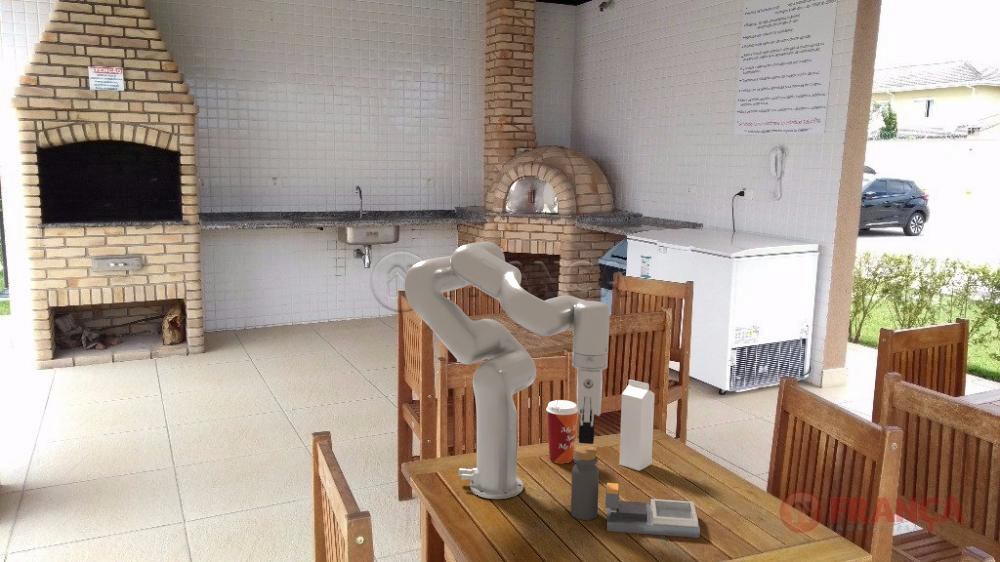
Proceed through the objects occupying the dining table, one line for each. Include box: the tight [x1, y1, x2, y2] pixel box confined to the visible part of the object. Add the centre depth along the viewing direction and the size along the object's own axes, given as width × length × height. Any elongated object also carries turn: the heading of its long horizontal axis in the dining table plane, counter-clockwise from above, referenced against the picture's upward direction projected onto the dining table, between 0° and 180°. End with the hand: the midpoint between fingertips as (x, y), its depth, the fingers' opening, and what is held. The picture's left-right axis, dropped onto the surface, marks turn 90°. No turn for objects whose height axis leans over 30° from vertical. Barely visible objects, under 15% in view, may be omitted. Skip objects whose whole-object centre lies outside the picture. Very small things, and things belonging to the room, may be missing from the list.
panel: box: [606, 498, 701, 539], centre depth 165 cm, size 19×10×4 cm, turn 82°
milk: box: [619, 379, 655, 471], centre depth 195 cm, size 6×6×22 cm
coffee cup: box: [545, 399, 578, 463], centre depth 198 cm, size 8×8×15 cm
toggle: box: [605, 482, 620, 509], centre depth 166 cm, size 3×4×4 cm
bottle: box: [570, 445, 600, 521], centre depth 168 cm, size 6×6×15 cm
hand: (586, 441), depth 167 cm, fingers closed
